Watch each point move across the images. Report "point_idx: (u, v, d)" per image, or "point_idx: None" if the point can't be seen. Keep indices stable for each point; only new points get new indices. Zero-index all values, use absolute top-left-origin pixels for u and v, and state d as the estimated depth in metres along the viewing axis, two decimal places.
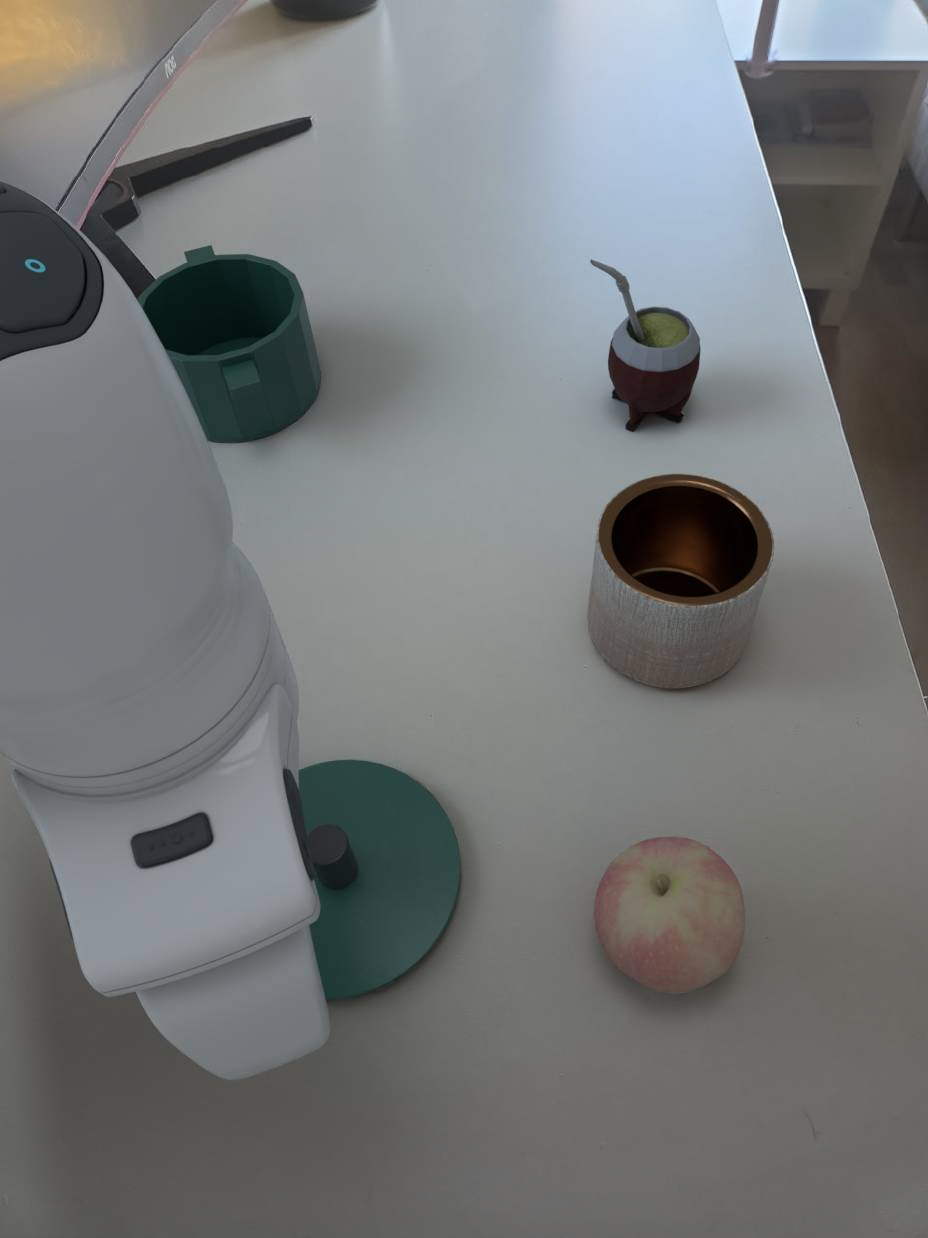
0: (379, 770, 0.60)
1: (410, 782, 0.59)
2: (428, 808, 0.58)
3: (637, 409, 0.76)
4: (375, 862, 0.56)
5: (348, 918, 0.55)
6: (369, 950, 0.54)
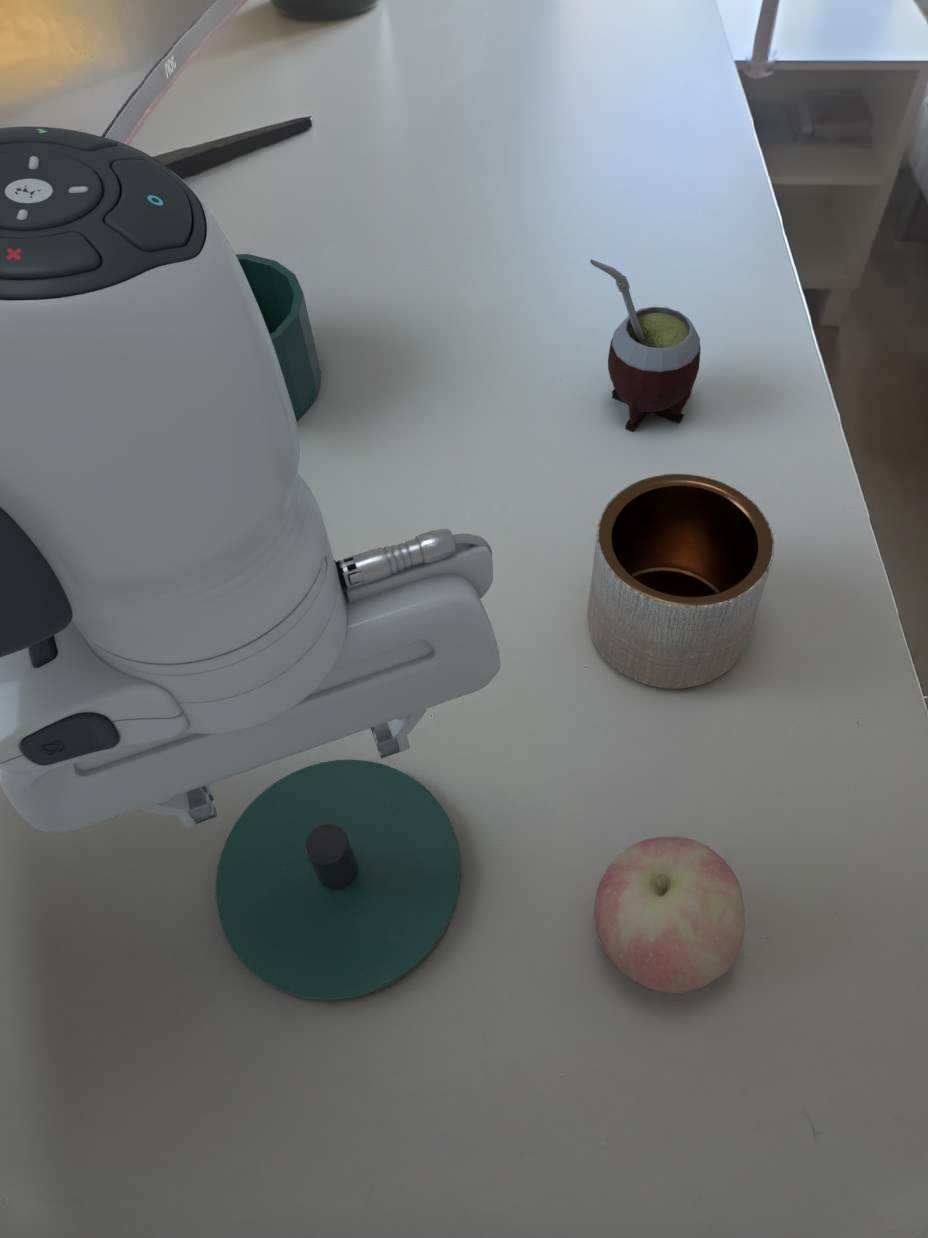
0: (379, 770, 0.60)
1: (410, 782, 0.59)
2: (428, 808, 0.58)
3: (637, 409, 0.76)
4: (375, 862, 0.56)
5: (348, 918, 0.55)
6: (369, 950, 0.54)
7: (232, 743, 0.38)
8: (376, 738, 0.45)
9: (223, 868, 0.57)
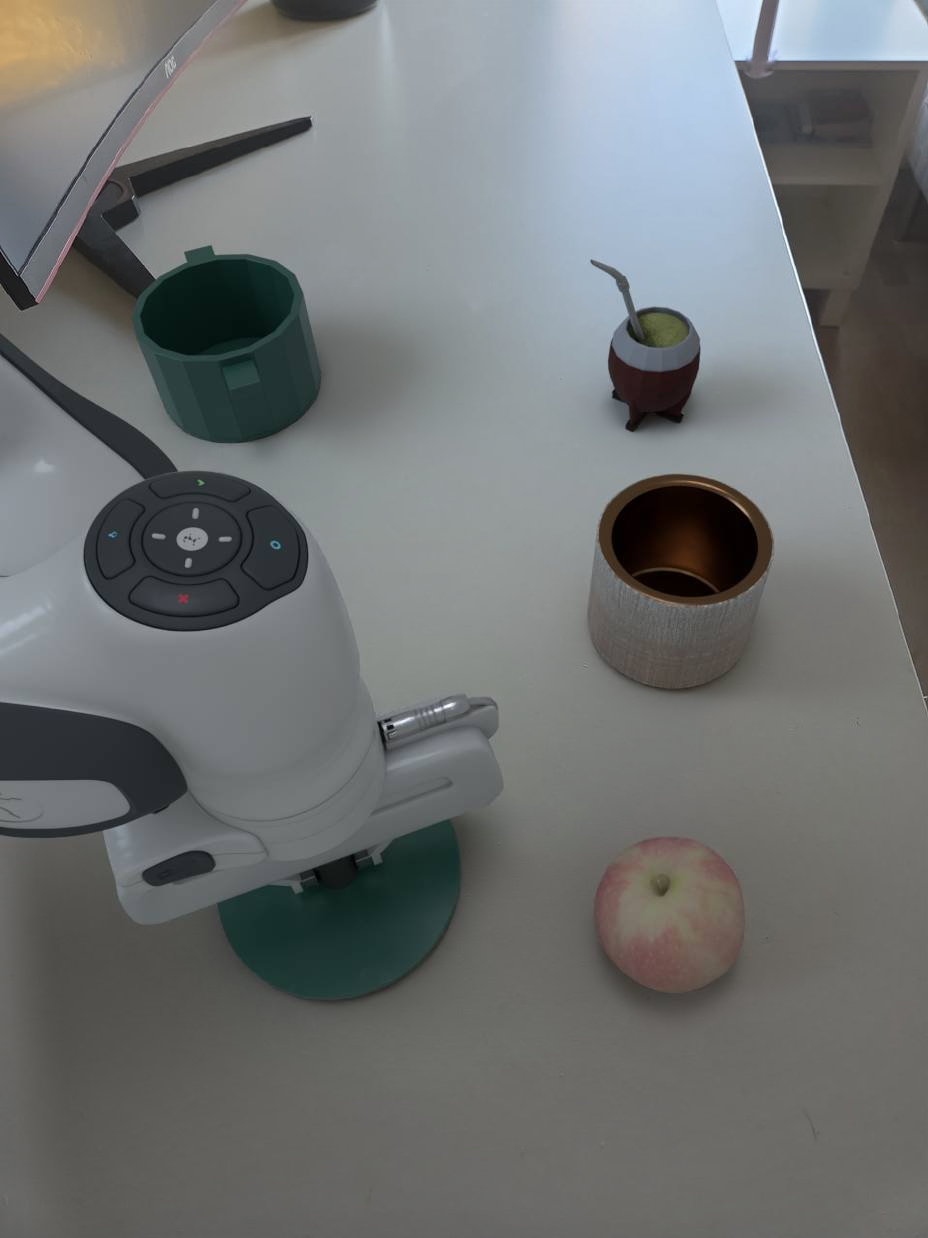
0: None
1: None
2: None
3: (637, 409, 0.76)
4: None
5: (348, 918, 0.55)
6: (369, 950, 0.54)
7: None
8: (355, 856, 0.54)
9: None
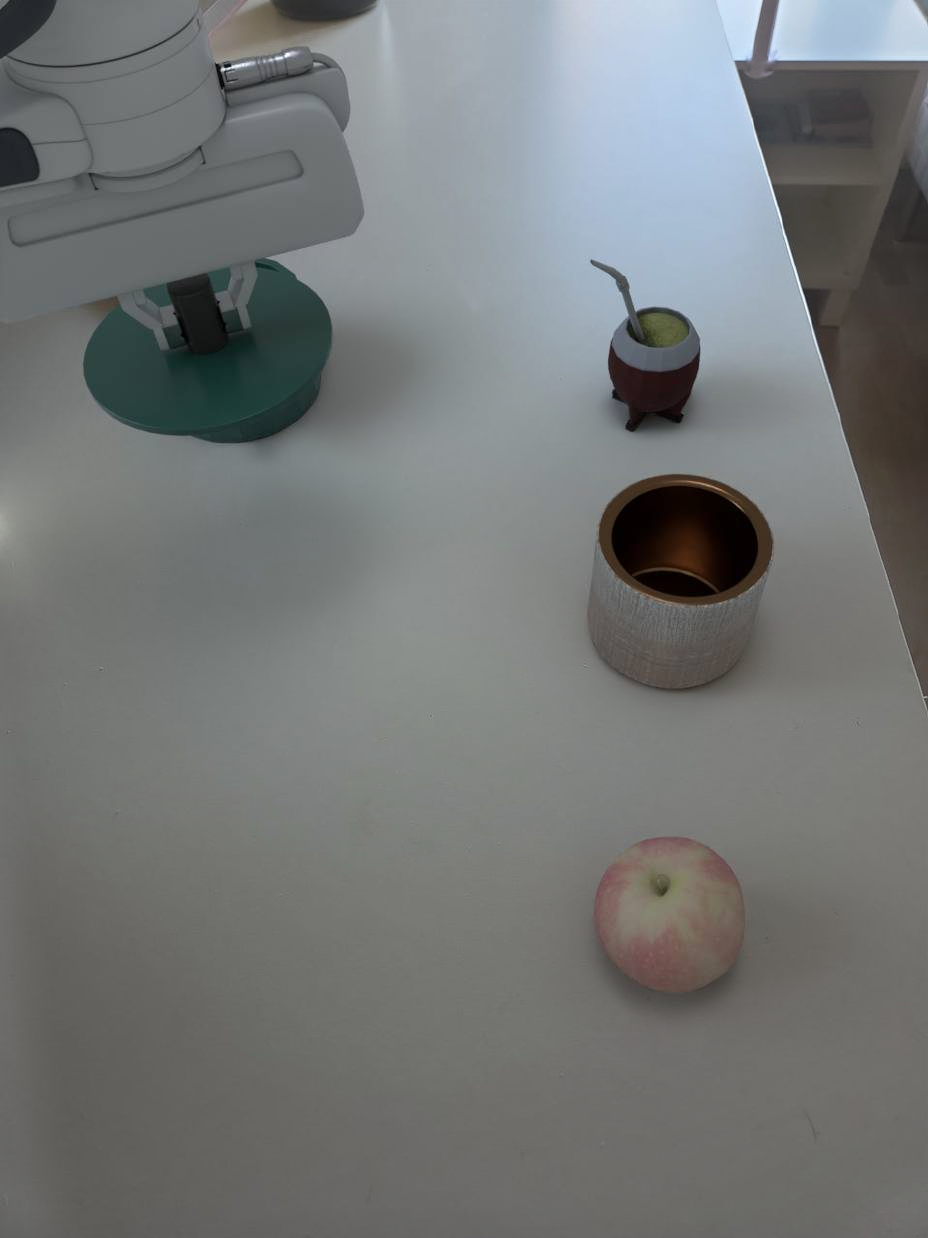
0: (258, 271, 0.59)
1: (289, 279, 0.58)
2: (304, 296, 0.57)
3: (637, 409, 0.76)
4: (246, 335, 0.56)
5: (214, 373, 0.54)
6: (232, 395, 0.53)
7: (139, 241, 0.48)
8: (220, 307, 0.54)
9: (93, 343, 0.56)
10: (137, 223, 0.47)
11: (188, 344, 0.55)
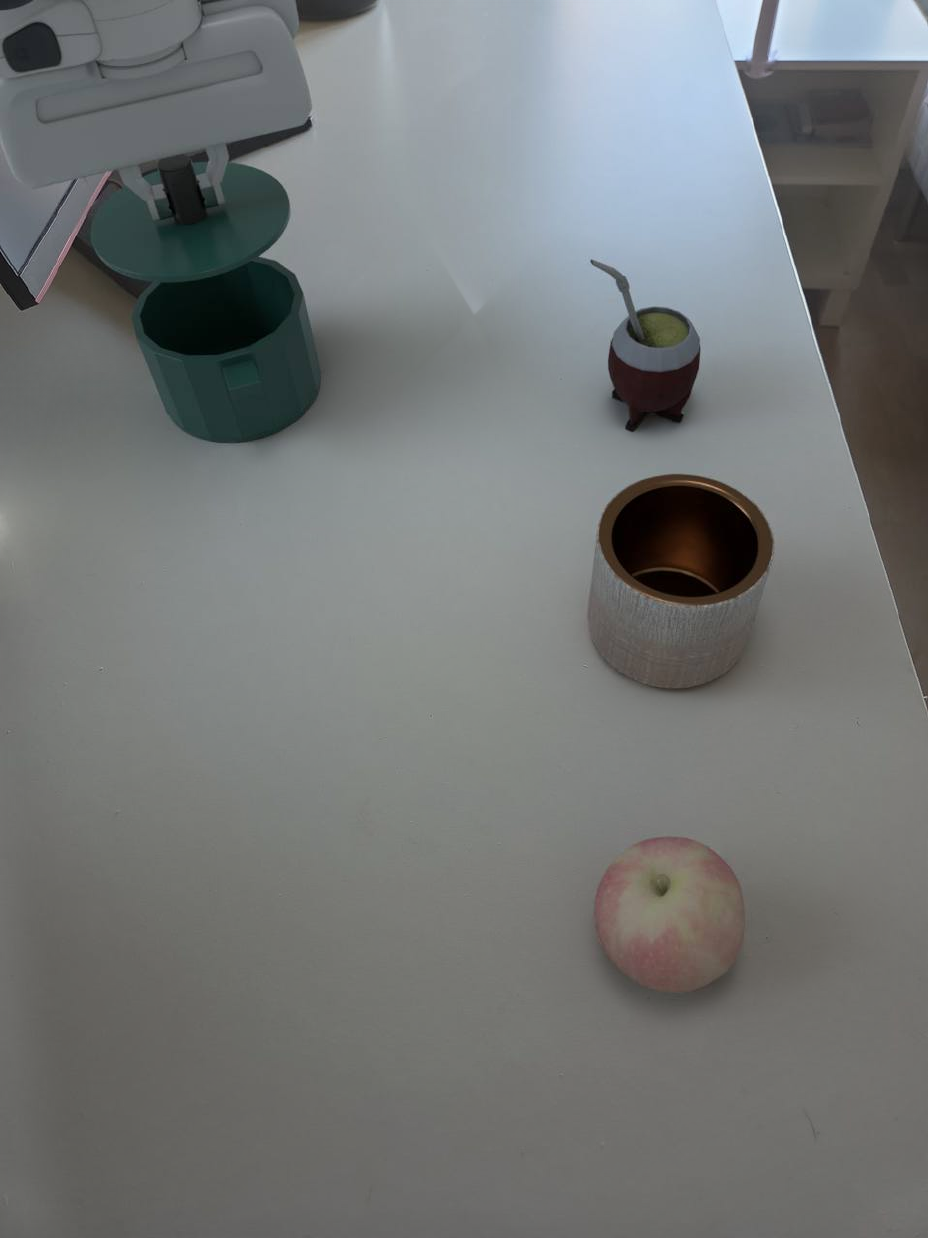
0: (231, 165, 0.73)
1: (255, 170, 0.73)
2: (268, 182, 0.71)
3: (637, 409, 0.76)
4: (221, 210, 0.70)
5: (195, 237, 0.68)
6: (209, 252, 0.67)
7: (136, 122, 0.62)
8: (199, 185, 0.68)
9: (98, 217, 0.70)
10: (134, 107, 0.61)
11: (174, 216, 0.69)
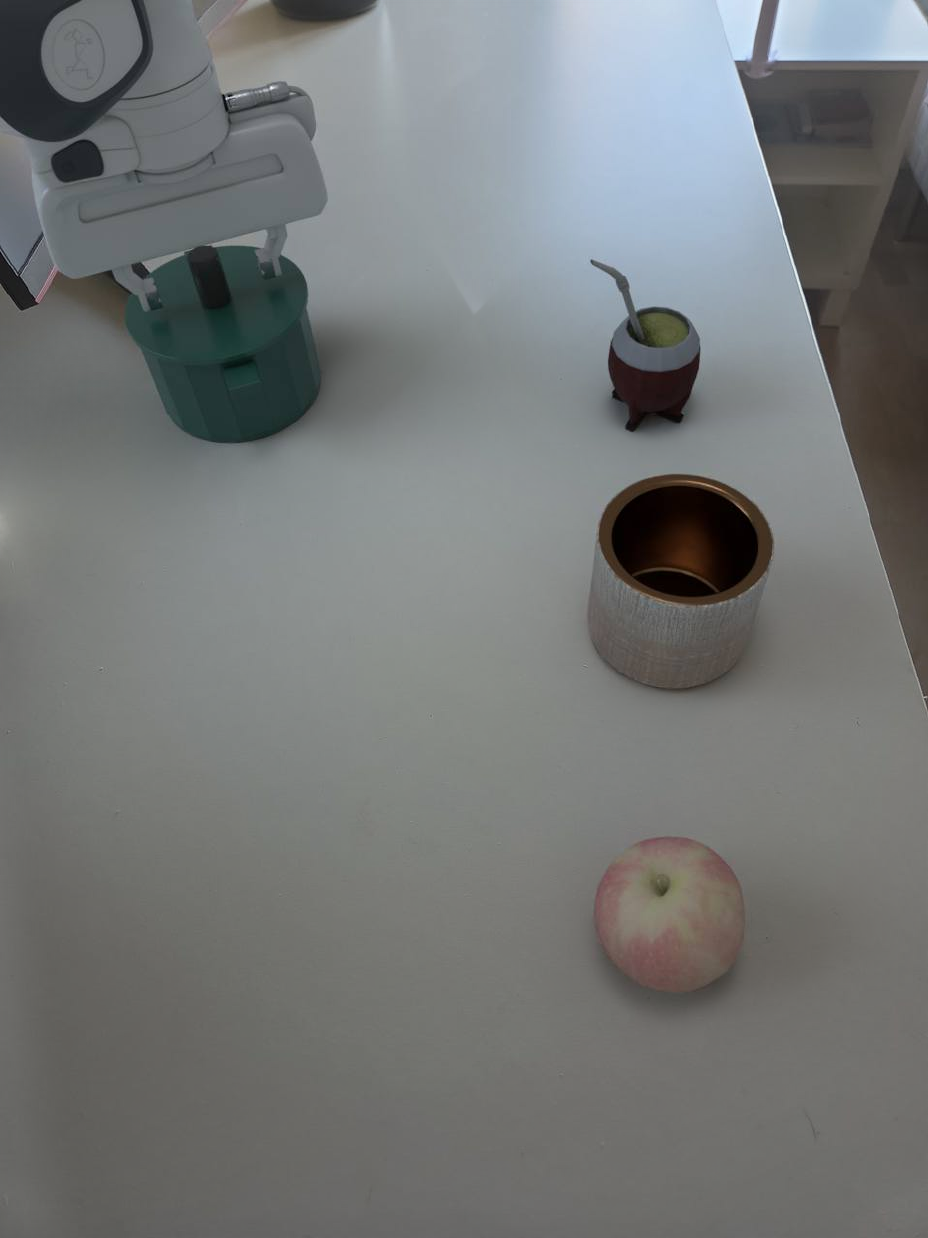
0: (252, 249, 0.79)
1: None
2: (286, 267, 0.77)
3: (637, 409, 0.76)
4: (244, 294, 0.76)
5: (221, 321, 0.74)
6: (235, 336, 0.73)
7: (168, 219, 0.67)
8: (259, 259, 0.74)
9: (131, 302, 0.76)
10: (167, 206, 0.67)
11: (202, 301, 0.75)
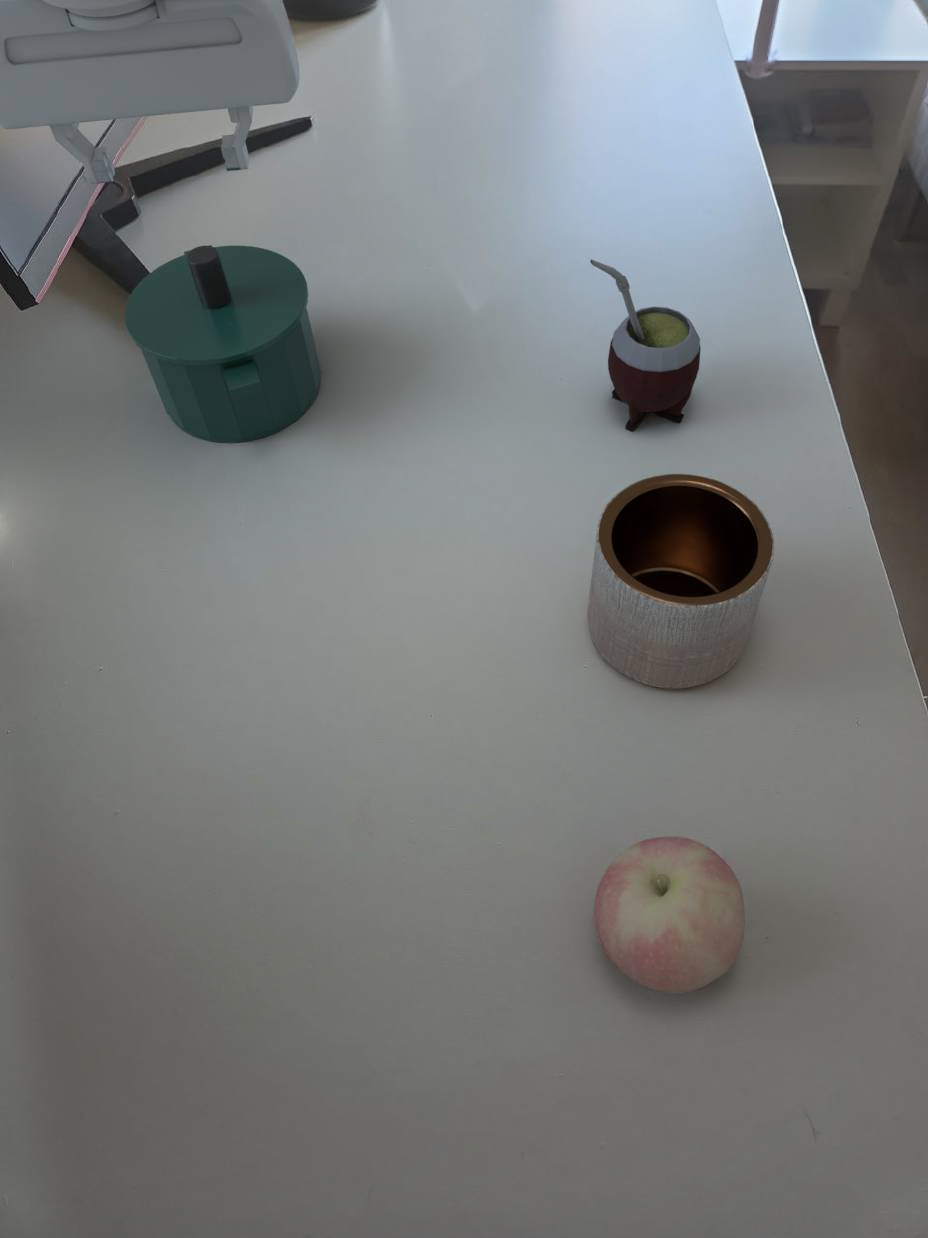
0: (252, 249, 0.79)
1: (274, 254, 0.79)
2: (286, 267, 0.77)
3: (637, 409, 0.76)
4: (244, 294, 0.76)
5: (221, 321, 0.74)
6: (235, 336, 0.73)
7: None
8: (105, 148, 0.66)
9: (131, 302, 0.76)
10: None
11: (202, 301, 0.75)
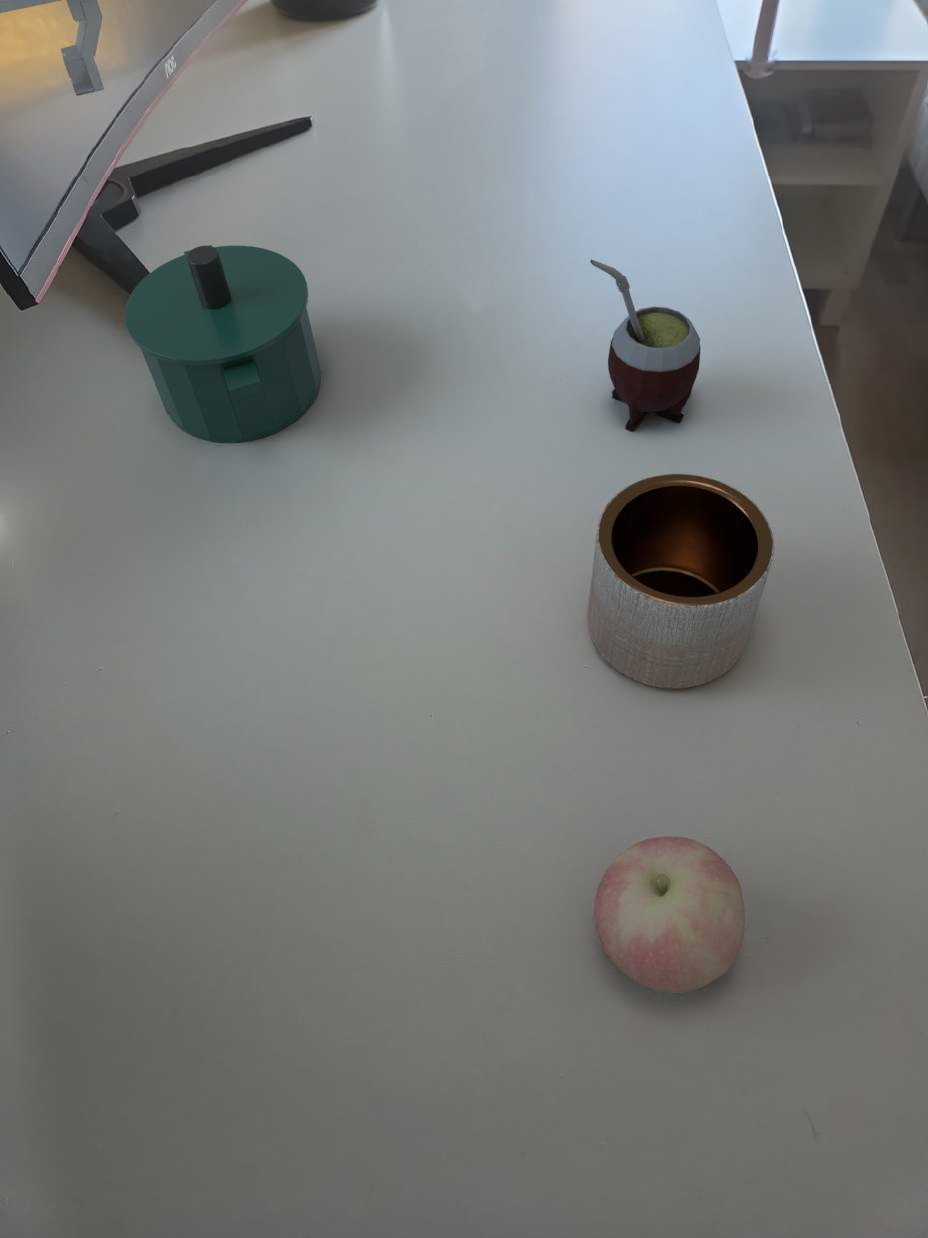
0: (252, 249, 0.79)
1: (274, 254, 0.79)
2: (286, 267, 0.77)
3: (637, 409, 0.76)
4: (244, 294, 0.76)
5: (221, 321, 0.74)
6: (235, 336, 0.73)
7: None
8: None
9: (131, 302, 0.76)
10: None
11: (202, 301, 0.75)
